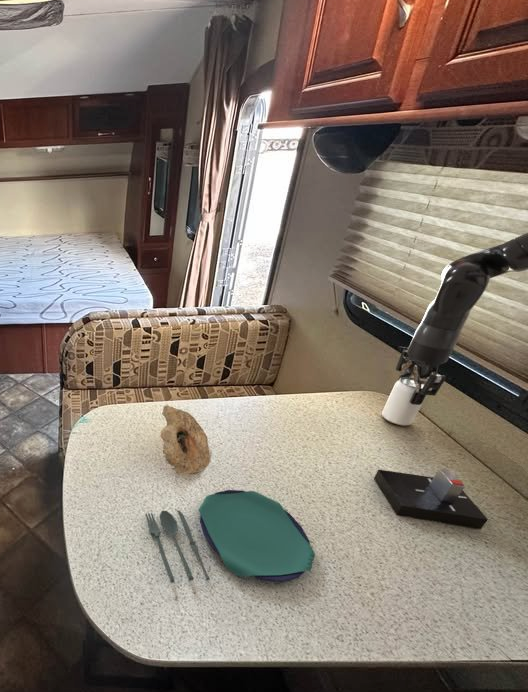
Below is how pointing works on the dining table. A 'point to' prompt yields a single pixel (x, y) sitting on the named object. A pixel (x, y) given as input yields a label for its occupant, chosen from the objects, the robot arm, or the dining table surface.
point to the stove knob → (446, 485)
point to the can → (401, 403)
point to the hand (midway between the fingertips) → (407, 395)
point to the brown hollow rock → (184, 441)
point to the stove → (426, 500)
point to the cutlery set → (245, 536)
